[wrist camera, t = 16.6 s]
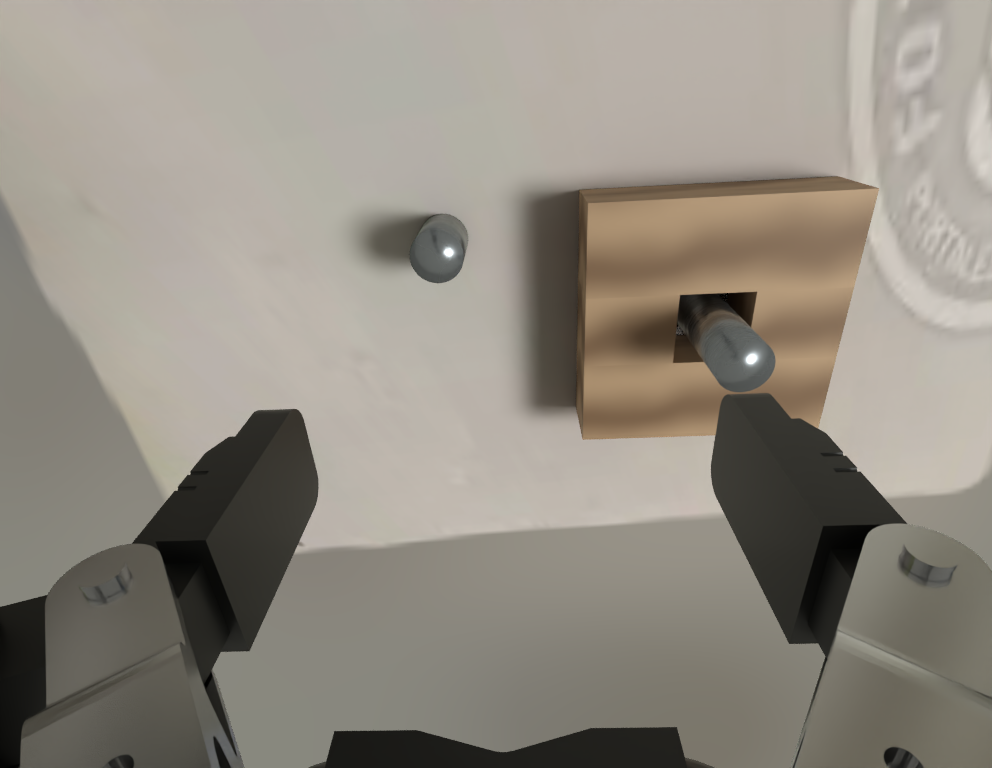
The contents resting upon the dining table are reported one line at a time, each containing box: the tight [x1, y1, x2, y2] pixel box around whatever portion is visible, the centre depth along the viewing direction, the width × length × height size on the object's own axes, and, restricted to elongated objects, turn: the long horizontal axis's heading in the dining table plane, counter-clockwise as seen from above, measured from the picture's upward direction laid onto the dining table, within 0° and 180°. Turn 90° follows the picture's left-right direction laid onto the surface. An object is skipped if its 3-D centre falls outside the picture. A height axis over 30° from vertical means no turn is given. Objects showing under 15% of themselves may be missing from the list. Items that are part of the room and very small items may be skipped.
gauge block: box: [576, 176, 879, 440], centre depth 42 cm, size 18×18×5 cm
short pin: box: [410, 214, 468, 283], centre depth 40 cm, size 4×4×5 cm
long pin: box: [677, 293, 776, 392], centre depth 39 cm, size 4×4×11 cm
